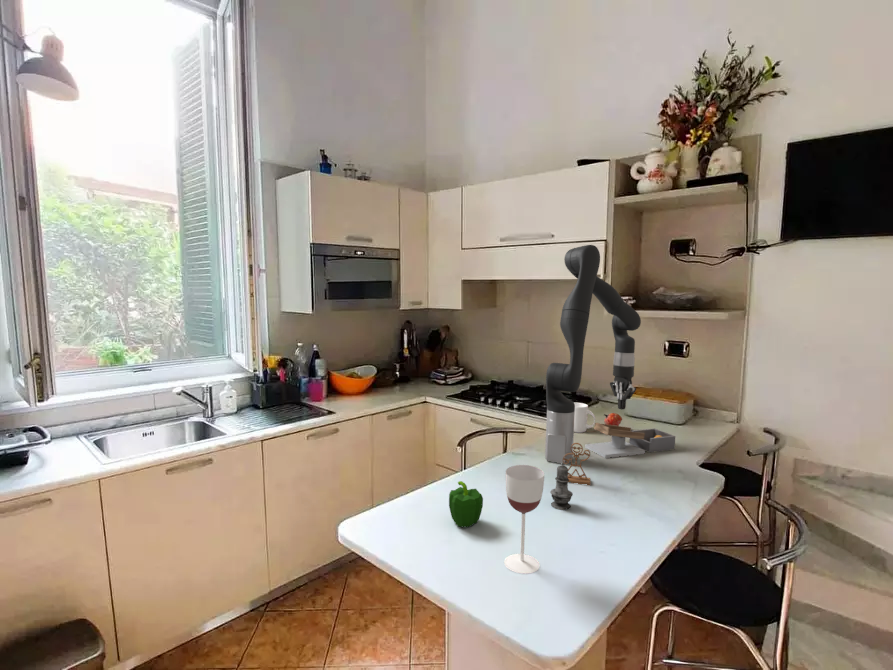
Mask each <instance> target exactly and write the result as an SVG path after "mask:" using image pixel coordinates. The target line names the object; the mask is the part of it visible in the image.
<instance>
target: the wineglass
mask: <svg viewBox="0 0 893 670" xmlns="http://www.w3.org/2000/svg"><path fill="white" fill-rule="evenodd" d="M544 482H545V472H544V471H543V469H541V468H538V467H536V466H533V465H528V464H527V465H526V464H517V465H512V466H509V467H507V468H506V470H505V491H506V497H507V500H508V503H509V505H510V506H511V508H513V509H514V510H515V511H517V512H519V513H521V528H520V530H521V531H520V553H514V554H510V555H508V556H506V557H505V559H504V562H503V563H504V566H505V567H506V568H507V569H508V570H510V571H512V572H514V573H517V574H523V575H525V574H526V575H527V574H532V573H533V574H534V573H535V572H537V571H538V570H539V569H540V568H541V567H540V566H541V565H540V562H539V561H538V559H536V557H534V556H531V555H528V554H525V539H526V538H525V535H526V533H525V532H526V514H528V513H530V512H532V511H534V510H535V509H537V507H539V504H540V503H541V500H542V497H543V493H544V485H545V483H544Z"/></svg>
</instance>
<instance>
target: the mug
mask: <svg viewBox="0 0 893 670" xmlns="http://www.w3.org/2000/svg"><path fill="white" fill-rule="evenodd" d="M574 404H575V415H574V433H578V434H579V433H586V431H587V430H588V429H591V428H594V426H595V423H596V416H595V414H594V413H593V411H591V410H590V409H589V405H588V404H586V403H583V402H574ZM588 415H590V416H592V418H593V423H592V424H588Z"/></svg>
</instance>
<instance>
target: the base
mask: <svg viewBox="0 0 893 670" xmlns="http://www.w3.org/2000/svg"><path fill="white" fill-rule="evenodd" d="M584 448H585V449H586V450H589V451H590V452H592V451H593V453H594V452H595V453H594V454H596V453H597V454H596V455H598V456H600V457H602V458H604V459H611V458H610V457H612V458H618V457H619V456H621V457H627V455H629V456H636V454H638V455H645V454H646V451H645V450H643V449H641V448H639V447H636V446H634V445H632V444H630V443H629V442H627V441H626V437H619V436H611V441H605V442H595V443H585V444H584ZM644 453H645V454H644Z"/></svg>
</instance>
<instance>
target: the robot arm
mask: <svg viewBox="0 0 893 670" xmlns="http://www.w3.org/2000/svg"><path fill="white" fill-rule="evenodd" d="M600 264H601V255H600V250H599V248H598V246H596V245H594V244H585V245H582V246H578V247H574V248H570V249H569V250H567V252H566V253H565V255H564V265H565V267H566V269H567V270H568V272H569V273H571V275H572V276H574V277H575V278H576V279H577V281H576V283H575V285H574V287H573V289H572V290H571V292H570V294H569V295H568V296H567V298H566V300H565V301H564V303H563V306H562V309H561V313H560V314H561V315H560V322H559V326H560V329H561V332H562V334H563V337H564V340H565V341H566V344H567V346H568V349H569V354H570V355H569V357H570V359H569V360H570V361H569V363H561V362H551V363H550V364H549V365H548V367H547V368H546V373H545V374H546V375H545V386H546V387H545V388H546V390H545V392H546V393H545V397H546V399H545V401H546V426H545V428H546V429H545V455H544V456H545V457H546V458H545V457H544V458H545V460H546V462H548V461H552V462H551V463H554V462H557V463H556V464H560V463H563V461H564V462H565V463H567V462H568V461H565V460H563V457H564V456H565V455H566V454H568V453H572V452H571V449H572V451H573V450H574V449H573V448H571V445H572V444H573V443H574V433H575V432H574V415H575V404H574V403H575V402H574V401H572V400H571V399H569V398H567V397H566V396H565V395H564V394H563V393H562V392H568V393H569V392H570V393H575V392H577V391H578V390H579V389H580V385H581V382H582V376H583V375H582V372H583V362H584V360H583V359H584V349H585V341H586V335H587V332H588V331H587V330H588V324H589V319H590V313H591V312H590V310H591V305H592V298H593V295H594V297H596V299H597V300H598V302H600V304H601V305H602V307H603V309H604V310H605V311H606V312H607V313H608V314H609V315H612V318H611V328H612V333H613V336H614V337H613V338H614V354H613V361H612V362H613V363H612V364H613V365H612V366H613V367H612V376H614V378H613V381H611V382H609V386H610V388H611V392H612V394H613V396H614V397H616V399H617V409H618V410H625V409H626V408H627V407H626V404H627V400H630V399H632V397H633V395H635V393H636V391H637V387H634V385H633V381H632V378H634V376H635V359H636V358H635V351H636V350H635V349H636V347H635V345H636V339H635V338H634V337H632V336H630V335H629V332H628V331H630V332H631V331H636V330H638V329H639V328H640V326H641V324H642V320H641V316H640V314H639V312H638V311H637V310H635V309H634V308H633V307H632V306H631V305H630V304H629V303H627V302H625V301H624V299H623V298H622V296H621V295H620V294H619V292H618V291H617V290H616V289H615V287H614V286H613V285H612V284H610V283H608V282H606V280H604V279H602V278H600V277H599V276H598V273H599V269H600V266H601V265H600ZM572 447H574V445H573V446H572ZM573 452H574V451H573ZM564 458H565V459H568V460H569V459H570V458H572V461H574V460H573V458H574V455H571V454H570V455H567V456H565V457H564ZM569 463H571V460H569Z"/></svg>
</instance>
